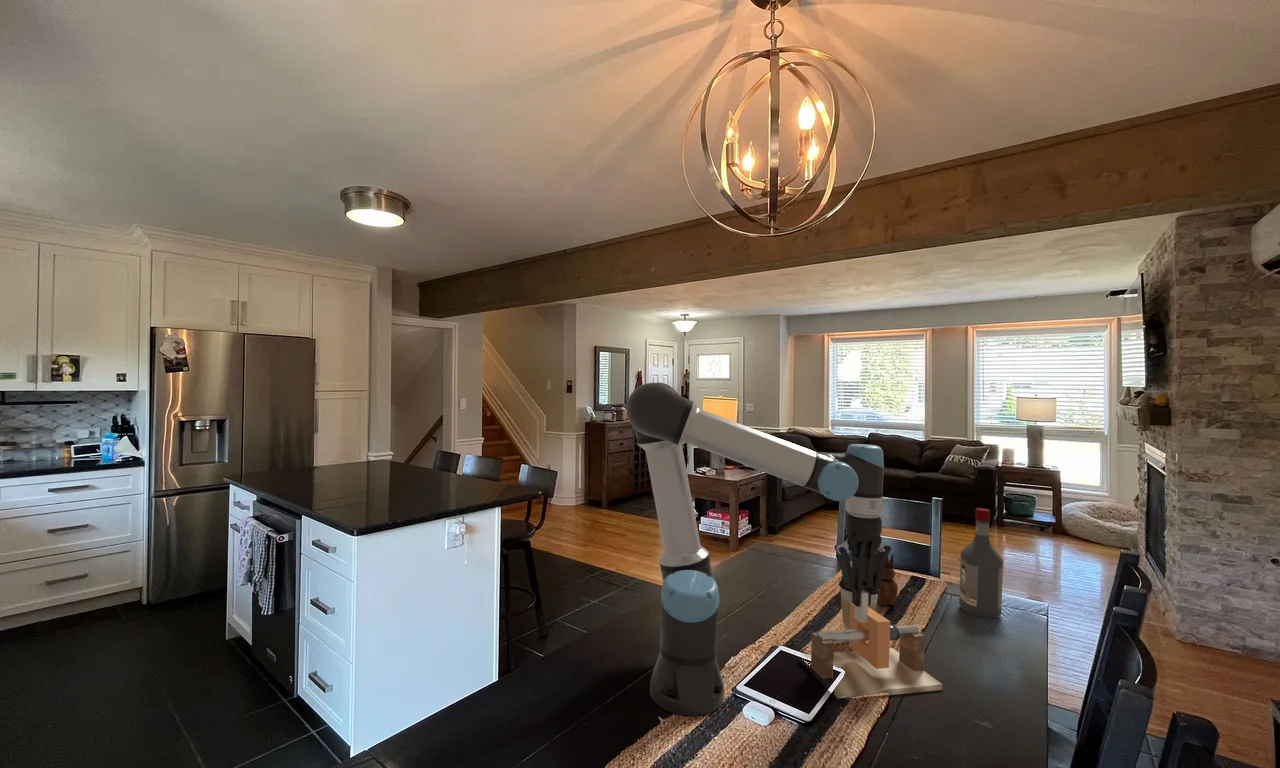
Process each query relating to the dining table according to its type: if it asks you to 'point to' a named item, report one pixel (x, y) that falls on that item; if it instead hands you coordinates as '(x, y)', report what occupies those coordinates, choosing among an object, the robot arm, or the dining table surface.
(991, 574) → the liquor
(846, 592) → the coffee cup
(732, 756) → the dining table surface
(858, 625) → the orange square ring
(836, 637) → the pipe
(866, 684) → the wooden rod stand
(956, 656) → the dining table surface
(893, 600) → the wooden figurine
